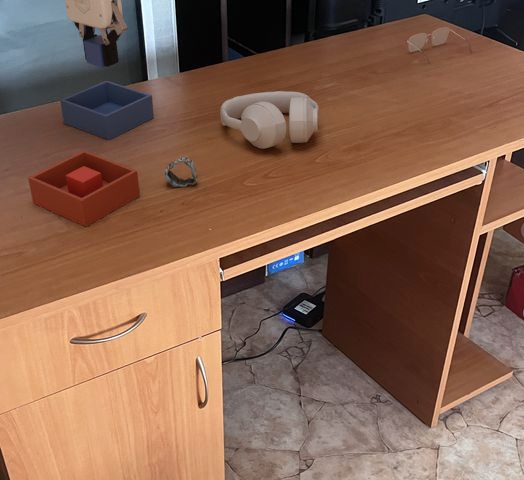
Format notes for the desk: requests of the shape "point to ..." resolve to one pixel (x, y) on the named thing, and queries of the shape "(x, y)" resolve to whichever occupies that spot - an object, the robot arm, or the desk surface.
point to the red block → (83, 181)
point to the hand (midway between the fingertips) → (102, 60)
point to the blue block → (94, 51)
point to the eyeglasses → (436, 39)
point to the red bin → (93, 205)
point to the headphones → (271, 117)
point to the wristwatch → (178, 181)
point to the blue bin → (107, 109)
